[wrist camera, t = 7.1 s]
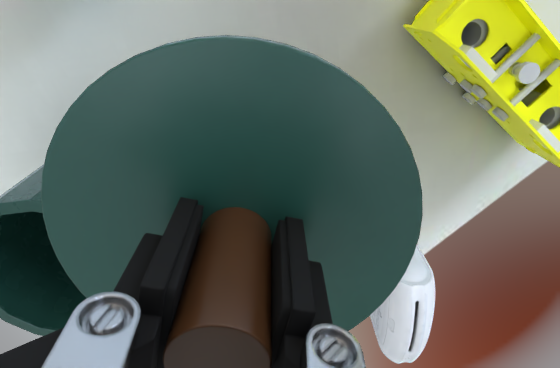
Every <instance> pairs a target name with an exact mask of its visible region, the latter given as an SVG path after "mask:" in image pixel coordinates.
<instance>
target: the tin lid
mask: <svg viewBox="0 0 560 368" xmlns="http://www.w3.org/2000/svg"><path fill="white" fill-rule="evenodd" d="M180 197H184V198H189V199H195V200H198V205H202V206H204V209H203V216H202V222H201V229H200V235H199V238H198V242H197V245H196V248H195V251H194V255H193V258H192V261H191V264H190V268H189V271H188V274H187V278H186V281H185V284H184V287H183V291H182V294H181V297H180V300H179V304H178V307H177V310H176V314H175V317H174V320H173V323H172V327H171V330H170V332H169V335H168V338H167V342H166V345H165V348H164V352H163V365H164V368H271V364H272V344H271V246H272V242H273V239H274V235H275V231H276V227H277V224H278V221H279V220H285V217H286V216H287V217H292V218H298V219H302V220H303V224H304V231H305V238H306V245H307V252H308V259H309V260H310V261H315V262H320V263H321V265H322V269H323V274H324V280H325V285H326V290H327V296H328V301H329V306H330V312H331V317H332V322H333V324H334V325H337V326H340V327H342V328H344V329H345V330H347V331H349V330H350V329H352V328H354V327H355V326H356V325H358V324H359V323H360V322H362V321H363V320H365V319H366V318H367V317H369V316H370V315H371V314H372V313H373V312H374V311H375V310H376V309H377V308H378V307H379V306H380V305H381V304H383V302H384V301H385V300H386V299H387V298H388V296H389V295H390V294H391V293H392V292H393V290H394V289H395V288H396V286H397V285H398V283H399V282H400V280H401V279H402V277H403V275H404V274H405V272H406V270H407V268H408V266H409V264H410V261H411V259H412V257H413V255H414V252H415V249H416V245H417V242H418V239H419V235H420V228H421V221H422V189H421V183H420V177H419V172H418V168H417V165H416V162H415V160H414V157H413V154H412V151H411V148H410V146H409V144H408V142H407V141H406V139H405V137H404V135H403V133H402V131H401V129H400V127H399V126H398V125H397V123H396V122H395V121H394V119H393V118H392V117H391V115H390V114H389V112H388V111H387V110H386V108H385V107H384V106H383V105H382V104H381V103H380V102H379V101H378V100H377V99H376V98H375V97H374V96H373V95H372V94H371V93H370V92H369V91H368V90H367V89H366V88H365V87H364V86H363V85H362V84H360V83H359V82H358V81H356V80H355V79H354V78H352V77H351V76H350V75H348V74H347V73H346V72H344V71H343V70H342V69H340V68H339V67H337V66H335V65H333V64H331V63H329V62H328V61H326V60H324V59H322V58H320V57H318V56H316V55H315V54H312V53H309V52H307V51H304V50H301V49H299V48H296V47H293V46H291V45H288V44H284V43H280V42H275V41H271V40H266V39H261V38H256V37H243V36H230V35H223V36H207V37H195V38H190V39H186V40H181V41H176V42H171V43H167V44H164V45H162V46H159V47H156V48H154V49H151V50H148V51H146V52H143V53H140V54H138V55H135V56H133V57H132V58H130V59H128V60H126V61H124V62H123V63H121V64H119V65H117V66H116V67H114V68H112V69H110V70H109V71H108V72H106V73H105V74H104V75H102V76H101V77H100V78H99V79H97V80H96V81H95V82H94V83H92V84H91V85H90V86H88V87H87V89H86V90H85V91H84V92H83V93H82V94H81V95H80V96H79V97H78V98H77V100H76V101H75V102H74V103H73V104H72V105H71V106H70V108H69V109H68V111H67V112H66V114H65V116H64V117H63V119H62V120H61V122H60V123H59V125H58V126H57V128H56V131H55V133H54V136H53V138H52V140H51V143H50V145H49V147H48V150H47V154H46V159H45V163H44V167H43V172H42V185H41V201H42V210H43V218H44V222H45V226H46V230H47V233H48V237H49V240H50V242H51V245H52V247H53V249H54V252H55V254H56V256H57V258H58V260H59V262H60V263H61V265H62V267H63V268H64V270H65V272H66V273H67V275H68V276H69V278H70V279H71V280H72V282H73V283H74V284H75V285H76V287H77V288H78V289H79V290H80V292H81V293H82V294H83V295H84V296H85V297H86V298H88V297H91V296H93V295H95V294H98V293H103V292H113V291H114V289H115V287H116V285H117V283H118V281H119V280H120V278H121V276H122V274H123V272H124V270H125V269H126V267H127V265H128V263H129V261H130V259H131V258H132V256H133V254H134V252H135V250H136V248H137V246H138V245H139V243H140V241H141V239H142V237H143V236H144V234H145V233H151V234H157V235H163V234H164V232H165V230H166V227H167V225H168V223H169V221H170V219H171V217H172V214H173V212H174V210H175V208H176V206H177V203H178V201H179V199H180Z"/></svg>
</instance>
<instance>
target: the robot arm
mask: <svg viewBox="0 0 560 368" xmlns="http://www.w3.org/2000/svg"><path fill="white" fill-rule="evenodd" d="M203 209H204V206H202V205H198V200H195V199H189V198H184V197H180V199H179V201H178V203H177V206H176V208H175V210H174V212H173V214H172V217H171V219H170V221H169V223H168V225H167V227H166V230H165V232H164V234H163V235H157V234H151V233H145V234H144V236H143V237H142V239H141V241H140V243H139V245H138V246H137V248H136V250H135V252H134V254H133V256H132V258H131V259H130V261H129V263H128V265H127V267H126V269H125V270H124V272H123V274H122V276H121V278H120V280H119V281H118V283H117V285H116V287H115V289H114V291H113V292H103V293H98V294H95V295H93V296H91V297H88V298H87V299H85V300H84V301H82V302H81V303H80V304H79V305H78V306H77V307H76V308H75V310H74V311H73V313H72V314H71V316H70V318H69V320H68V321H67V323H66V325H65V327H64V328H61V329H59V330H57V331H54V332H52V333H50V334H47V335H45V336H43V337H40V338H38V339H35V340H33V341H31V342H29V343H26V344H24V345H22V346H19V347H17V348H14V349H12V350H10V351H7V352H5V353H3V354H0V368H164V365H163V352H164V348H165V345H166V342H167V338H168V335H169V332H170V330H171V327H172V323H173V320H174V317H175V314H176V310H177V307H178V304H179V300H180V297H181V294H182V291H183V287H184V284H185V281H186V278H187V274H188V271H189V268H190V264H191V261H192V258H193V255H194V251H195V248H196V245H197V242H198V238H199V235H200V229H201V222H202V216H203ZM271 344H272V364H271V368H366V366H365V361H364V356H363V352H362V349H361V346H360V344H359V343H358V341H357V340H356V338H355V337H354V336H353V335H352V334H351V333H350V332H348V331H347V330H345V329H344V328H342V327H340V326H337V325H334V324H333V322H332V317H331V312H330V306H329V301H328V296H327V290H326V285H325V280H324V274H323V269H322V265H321V263H320V262H315V261H310V260H309V259H308V252H307V245H306V238H305V231H304V224H303V220H302V219H298V218H292V217H287V216H286V217H285V220H279V221H278V224H277V227H276V231H275V235H274V239H273V242H272V246H271Z"/></svg>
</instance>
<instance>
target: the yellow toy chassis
mask: <svg viewBox="0 0 560 368" xmlns="http://www.w3.org/2000/svg"><path fill="white" fill-rule="evenodd" d="M403 27H404V28H405V29H406V30H407V31H408V32H409V33H410V34H411V35H412V36H413V37H414V38H415V39H416V40H417V41H418V42H419V43H420V44H421V45H422V46H423V47H424V48H425V49H426V50H427V51H428V52H429V53H430V54H431V55H432V56H433V57H434V58H435V59H436V60H437V61H438V62H439V63H440V64H441V65H442V66H443V67H444V69H445V70H446V71H447V72H446V73H445V74H444V75H443V78H444V79H445V80H446V81H448V82H449V83H450V84H452V85H453V84H454V83H455V82H456V81H457V82H458V83H459V85H460V86H461V87H462V88H463V89H464V90H466V91H467V92H468V93H467V92H466V93H465V94H464V95H463V96H462V97H463V98H464V99H465V100H466V101H468V102H469V103H470V104H472V105H473V104H474V103H475V102H477V103H478V104H479V105H480V106H481V107H482V108H483V109H485V110H486V111H487V112H488V113H489V114H490V115H491V116H492V117H493V118H494V119H495V120H496V121H497V122H498V124H499V125H500V126H501V127H502V128H503V129H504V130H505V131H506V132H507V133H508V134H509V135H510V136H511V137H512V138H513V139H514V140H515V141H516V142H517V143H519V144H521V145H522V146H524V147H526V149H528V150H529V151H531V152H533V153H536V154H538V155H539V156H541V157H543V158H544V159H546V160H548V161H549V162H551V163H553V164H554V165H556V166H558V167H560V44H559V43H558V41H557V40H556V39H555V38H554V36H553V35H552V34H551V33H550V31H549V30H548V29H547V28H546V26H545V25H544V24H543V23H542V21H541V20H540V19H539V18H538V17H537V15H536V14H535V13H534V12H533V10H532V9H531V8H530V7H529V5H528V4H527V3H526V2H525V0H429V1H428V2H427V3H426V5H425V6H424V7H423V8H422V9H421V10H420V11H419V12H418V14H417V15H416V16H415V20H414V21H413V23H412V25H408V24H404V25H403Z"/></svg>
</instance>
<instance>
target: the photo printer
mask: <svg viewBox="0 0 560 368" xmlns="http://www.w3.org/2000/svg"><path fill="white" fill-rule="evenodd" d="M434 306H435V281H434V276H433V272H432V269H431V267H430V266H429V264H428V262H427V260H426V259H425V257H424V255H423V253H422V252H421V250H420V248H419V247H418V245H416V249H415V252H414V255H413V257H412V259H411V261H410V264H409V266H408V268H407V270H406V272H405V274H404V275H403V277H402V279H401V280H400V282H399V283H398V285H397V286H396V288H395V289H394V290H393V292H392V293H391V294H390V295H389V296H388V298H387V299H386V300H385V301H384V302H383V304H381V305H380V306H379V307H378V308H377V309H376V310H375V311H374V312H373V313H372V314H371V315H370V317H371V320H372V323H373V327H374V330H375V334H376V337H377V340H378V343H379V347H380V349H381V351H382V352H383V353H384V355H386V357H387V358H389V359H390V360H391V361H393V362H395V363H398V364H400V363H403V362H409V363H411V362H413V361H414V360H416V359H417V358H418V357H419V355H420V354H421V353H422V351H423V349H424V347H425V345H426V343H427V340H428V337H429V334H430V330H431V325H432V320H433V314H434Z"/></svg>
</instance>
